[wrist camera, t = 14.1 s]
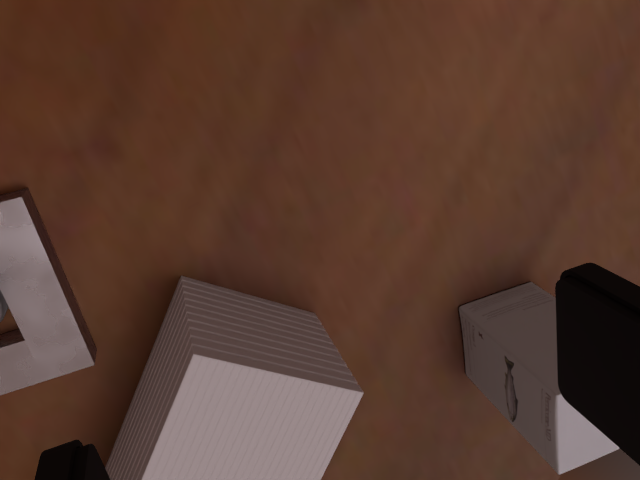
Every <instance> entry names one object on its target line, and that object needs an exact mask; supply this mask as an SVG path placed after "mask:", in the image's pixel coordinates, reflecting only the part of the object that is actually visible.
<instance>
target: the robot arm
mask: <svg viewBox="0 0 640 480" xmlns="http://www.w3.org/2000/svg"><path fill="white" fill-rule="evenodd" d="M555 292H556V332H557V371H558V387H559V390H560V393H561V395H562V396H563V398H564V399H565V400H566V401H567V402H568V403H569V404H570V405H571V406H572V407H573V408H574V409H576V410H577V411H578V412H579V413H580V414H581V415H582V416H584V417H585V418H586V419H587V420H588V421H589V422H590V423H592V424H593V425H594V426H595V427H596V428H597V429H599V430H600V431H601V432H602V433H603V434H604V435H605V436H607V437H608V438H609V439H610V440H611V441H612V442H613V443H615V444H616V445H617V446H618V447H619V448H620V449H622V450H623V451H624V452H625V453H626V454H627V455H628V456H630V457H631V458H632V459H633V460H634V461H635V462H636V463H638V464H639V465H640V287H639V286H637V285H635V284H633V283H632V282H630V281H628V280H626V279H624V278H622V277H620V276H618V275H616V274H614V273H612V272H610V271H608V270H606V269H604V268H602V267H600V266H598V265H596V264H594V263H586V264H583V265H580V266H577V267H574V268H571V269H568V270H565V271H564V272H563V273H562V274H561V276H560V280H559V281H557V283H556V287H555ZM35 480H110V478H109V476H108V473H107V471H106V469H105V467H104V465H103V463H102V461H101V458H100V456H99V454H98V452H97V450H96V448H95V446H94V445H93V444H88V445H85V446H83V445H82V443H81V442H80V441H79V440H74V441H71V442H68V443H65V444H62V445H59V446H57V447H54V448H51V449H48V450H45V451H43V452H42V454H41V456H40V459H39V464H38V468H37V472H36V476H35Z"/></svg>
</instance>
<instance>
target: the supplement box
mask: <svg viewBox="0 0 640 480" xmlns="http://www.w3.org/2000/svg"><path fill="white" fill-rule="evenodd" d="M459 313H460V319H461V326H462V334H463V344H464V355H465V371H466V375H467V376H468V378H469V379H470V380H471V381H472V382H473V383H474V384H475V385H476V386H477V387H478V388H479V390H480V391H481V392H482V393H483V394H484V395H485V396H486V397H487V398H488V399H489V400H490V401H491V403H492V404H493V405H494V406H495V407H496V408H497V409H498V410H499V411H500V412H501V413H502V414H503V415H504V416H505V418H506V419H507V420H508V421H509V422H510V423H511V424H512V425H513V426H514V427H515V428H516V429H517V430H518V431H519V433H520V434H521V435H522V436H523V437H524V438H525V439H526V440H527V441H528V442H529V443H530V444H531V445H532V446H533V447H534V448H535V450H536V451H537V452H538V453H539V454H540V455H541V456H542V457H543V458H544V459H545V460H546V461H547V462H548V463H549V465H550V466H551V467H552V468H553V469H554V470H555V471H556V472H557V473H558V474H562V473H565V472H567V471H569V470H572V469H574V468H576V467H579V466H581V465H583V464H586V463H588V462H590V461H593V460H595V459H597V458H600V457H602V456H604V455H606V454H609V453H610V452H613V451H615V450H617V449H620V448H619V447H618V446H617V445H616V444H615V443H613V442H612V441H611V440H610V439H609V438H608V437H607V436H605V435H604V434H603V433H602V432H601V431H600V430H599V429H597V428H596V427H595V426H594V425H593V424H592V423H590V422H589V421H588V420H587V419H586V418H585V417H584V416H582V415H581V414H580V413H579V412H578V411H577V410H576V409H574V408H573V407H572V406H571V405H570V404H569V403H568V402H567V401H566V400H565V399H564V398H563V396H562V395H561V393H560V390H559V387H558V371H557V332H556V298H555V297H554V296H552V295H551V294H549V293H547V292H546V291H544V290H543V289H541V288H540V287H538V286H537V285H535V284H534V283H533V282H529V283H526V284H523V285H520V286H517V287H514V288H511V289H508V290H505V291H502V292H499V293H496V294H493V295H490V296H487V297H485V298H482V299H479V300H476V301H473V302H470V303H467V304H465V305H462V306H460V307H459Z"/></svg>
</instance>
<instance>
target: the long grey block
mask: <svg viewBox="0 0 640 480" xmlns="http://www.w3.org/2000/svg"><path fill="white" fill-rule="evenodd" d="M317 318H318V317H317V316H316V314H315V313H312V312H308V311H305V310H301V309H298V308H294V307H291V306H287V305H284V304H280V303H276V302H273V301H269V300H266V299H262V298H259V297H255V296H252V295H248V294H245V293H241V292H237V291H234V290H230V289H227V288H223V287H220V286H216V285H213V284H209V283H206V282H202V281H198V280H195V279H191V278H188V277H184V276H181V277H180V279H179V282H178V285H177V287H176V290H175V292H174V295H173V297H172V300H171V302H170V305H169V307H168V310H167V312H166V315H165V317H164V320H163V323H162V325H161V328H160V330H159V333H158V335H157V338H156V340H155V343H154V345H153V348H152V350H151V353H150V355H149V358H148V361H147V363H146V366H145V368H144V371H143V373H142V376H141V378H140V381H139V383H138V386H137V388H136V391H135V394H134V396H133V399H132V401H131V404H130V406H129V409H128V411H127V414H126V416H125V419H124V421H123V424H122V426H121V429H120V432H119V434H118V437H117V439H116V442H115V444H114V447H113V449H112V452H111V454H110V457H109V459H108V462H107V464H106V467H105V469H106V471H107V473H108V476H109V478H110V480H321V478H322V476H323V474H324V472H325V470H326V468H327V466H328V464H329V462H330V460H331V458H332V456H333V454H334V452H335V450H336V448H337V446H338V444H339V442H340V440H341V438H342V436H343V434H344V432H345V430H346V428H347V426H348V424H349V422H350V420H351V418H352V416H353V414H354V412H355V410H356V408H357V405H358V403H359V401H360V399H361V397H362V395H363V393H364V392H363V391H362V389H361V388H360V386H359V385H357V381H356V379H355V378H354V376H351V375H352V373H351V371H350V370H349V368H347V365H346V363H345V361H344V360H342V356H341V355H340V353H339V352H337V351H338V350H337V348H336V347H335V345H333V342H332V340H331V339H330V338H329V335H328V334H327V332H326V331H325V329H324V327H323V325H321V322H320V321H319V319H317Z"/></svg>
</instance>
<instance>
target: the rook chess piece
mask: <svg viewBox="0 0 640 480" xmlns="http://www.w3.org/2000/svg"><path fill="white" fill-rule="evenodd" d="M7 309H8V305H7V302H6V300H5V298H4V296H3V294H2V292H1V290H0V322H1V321H2V320H3V318H4V316H5V313H6V311H7Z"/></svg>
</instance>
